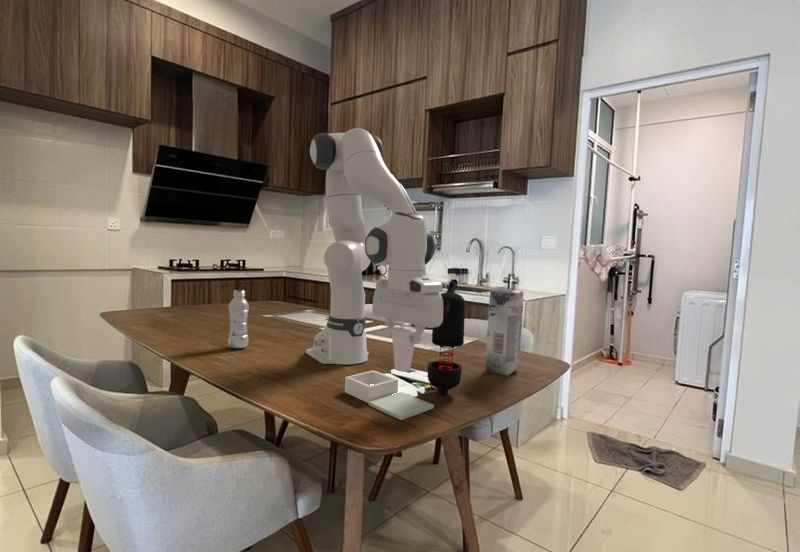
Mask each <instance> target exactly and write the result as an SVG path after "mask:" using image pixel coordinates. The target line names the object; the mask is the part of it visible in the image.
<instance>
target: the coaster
mask: <svg viewBox="0 0 800 552" xmlns="http://www.w3.org/2000/svg"><path fill="white" fill-rule="evenodd" d="M368 406H370V407H372V408H374V409H375V410H378V411H380V412H382V413H385V414H387V415H389V416H391V417H394V418H396V419H398V420H399V421H403V420H406V419H408V418H411V417H413V416H416V415H420V414H423V413H424V412H427V411H429V410H433V409H434V408H435V405H434V404H433V403H430V402H427V401H425V400H423V399H420V398H417V397H415V396H413V395H410V394H408V393H405V392H404V391H403V392H402V391H400V392H398V393H396V394H393V395H389V396H386V397H383V398H380V399H376V400H373V401H370V402H369V403H368Z"/></svg>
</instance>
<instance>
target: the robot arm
mask: <svg viewBox="0 0 800 552" xmlns="http://www.w3.org/2000/svg"><path fill="white" fill-rule="evenodd" d="M383 146H384V145H383V142H382V140H381V139H380V138H379V136H378V135H375V134H372V133H370V132H369V131H368V130H366V129H364V128H360V127H359V128H357V127H356V128H352V129H349V130H347V131H346V132H332V133H327V132H322V133H317V134H315V135H313V138H312V139H311V142H310V147H309V155H310V158H311V160H312V164H313V166H315V167H316V168H317V169H319V170H323V171H326V175H325V195H326V196H325V197H326V207H327V216H328V217H327V218H328V224H329V226H330V228H331V231H332V233H333V237H334V240H335V242H333V243H331V244H330V245H329V246H328V247H327V248H326V250H325V252H324V255H323V261H324V265H325V266H326V269H327V273H328V280H329V287H330V315H329V316H325V321H326V322H327V323H326V325H325V326H326V327H324V328H323V329H322V330H321V331H319V332H318V333H317V334H316V335H315V336H314V337H313V344H312V345H313V346H312V347H310V348H308V349H306V350H305V353H306V354H307V355H308V356H310V357H311V358H313V359H314V360H316V361H318V362H319V363H321V364H324V365H328V364H330V365H331V364H333V365H357V364H361V363H365V362H367V361H368V360H369V359H368V356H369V353H370V352H369V351H368V347H367V332H366V331H365V329H366V324H367V323H366V321H367V320H366V316H365V312H366V311H365V307H366V304H365V303H366V292H365V289H364V283H363V275H362V273H363V272H364V271H365V270H366V269H367V268H368V267H369V266H370V264H371V263H372V264H374V265H377V266H378V265H379V266H388V268H387V279H385V278H380V279H379V280H378V281H377V282H376V284H375V290H374V293H373V299H372V306H371V307H372V309H371V310H372V314H373V315H374V316H375V317H379V318H383V319H384V318H385V324H386V326H387V329H388V337H389V338H392V333H391V328H392V327H397V326H396V322H397V321H398V322H400V323H401V322H404V323H406V324H412V325H414V326H413V327H414V329H416V331H415V333H414V335H413V336H411V343H414V344H415V345H417V344H420V343H421V338H422V337H421V336H423V333H424V331H425V330H426V328H427V329H428V328H429V329H433V328H434V327H439V326H440V325H441V324H442V322H443V299H442V296H441V295H440V294H441V293H443V289H444V288H443V287H444V285H443V283H442V282H440V281H438V280H436V279H435V278H433V277H431V276H430V275H428V274H427V268H426V265H427V264H428V263H429V262H431V260H432V259H433V257H434V255H435V252H436V242H435V238H434V237H433V234H432V233H431V232H430V230H429V229H428V228H427V223H426V219H425V217H424V216H423V215H422V214H420V213H418V211H417V210H416V207H415V205H414V204H413V202H412V200H411V197H410V196H409V194H408V193H407V191H406V189H405V188H404V186H403V184H402V183H401V182H400V181H399V180H398V179H397V178H395V176H394V175H393V174H392V173H391V171H390V169H389V168H388V167H387V166H386V163H385V162H384V159H383V157H384V147H383ZM362 197H363V198H366V199H369V200H372V201H374V202H376V203H379V204H381V205H383V206H385V207H386V208H388V209H389V210H390V211H391V212H392V214H391V217H390V219H389V220H388V221H386V222H385V223H383V224H381V225H380V226H377V227H376V226H375V227H373V228H372V229H371V230H370V231H369V232H368V234H367V229H366V226H365V221H364V215H363V205H362Z"/></svg>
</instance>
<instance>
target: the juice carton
mask: <svg viewBox="0 0 800 552" xmlns="http://www.w3.org/2000/svg"><path fill="white" fill-rule="evenodd" d="M487 315H488V317H487V333H486V344H485V345H486V346H485V348H486V349H485V370H486V371H487V372H489V373H493V374H498V375H501V376H506V377H508V376H510V375H511V374H512V373H514V372H516V371H518V370H517V369H518V366H519V362H520V356H521V355H520V354H521V343H522V341H521V340H522V329H523V328H522V327H523V315H524V291H522V290H516V289H508V288H507V286H506V285H498V286H496V290H491V291H490V293H489V301H488V314H487Z"/></svg>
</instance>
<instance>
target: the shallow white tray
mask: <svg viewBox="0 0 800 552" xmlns="http://www.w3.org/2000/svg"><path fill="white" fill-rule="evenodd" d="M370 384H374V385H371V386H370ZM398 389H399V379H398V378H395V377H392V376H390V375H387V374H385V373H382V372H379V371H377V370H369V371H368V370H367V371H365V372H364V371H363V372H361V373H357V374H356V373H355V374H352V375H349V376H345V378H344V393H346V394H348V395H350V396H353V398H354V397H355V398H356V399H359V400H361V401H363V402H365V403H368V404H369V402H370V401H373V400H376V399H380V398H383V397H386V396H389V395H392V394H394V393H397V392H398V391H399V390H398ZM398 393H399V392H398Z"/></svg>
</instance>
